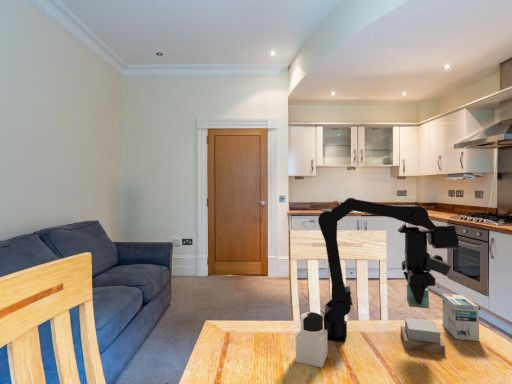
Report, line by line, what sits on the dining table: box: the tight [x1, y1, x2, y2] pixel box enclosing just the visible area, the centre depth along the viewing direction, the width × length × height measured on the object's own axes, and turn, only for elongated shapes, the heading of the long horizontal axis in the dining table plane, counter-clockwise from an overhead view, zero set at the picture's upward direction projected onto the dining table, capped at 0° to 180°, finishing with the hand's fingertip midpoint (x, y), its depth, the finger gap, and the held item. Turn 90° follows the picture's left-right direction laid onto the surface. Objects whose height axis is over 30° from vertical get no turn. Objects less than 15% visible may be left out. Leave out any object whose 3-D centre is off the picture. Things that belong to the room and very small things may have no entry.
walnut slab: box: [400, 325, 446, 355], centre depth 92 cm, size 10×10×3 cm
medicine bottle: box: [295, 311, 329, 368], centre depth 84 cm, size 7×7×12 cm
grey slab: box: [404, 317, 441, 343], centre depth 92 cm, size 8×8×3 cm
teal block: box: [406, 283, 430, 309], centre depth 91 cm, size 5×5×5 cm
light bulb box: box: [441, 293, 480, 342], centre depth 98 cm, size 11×7×11 cm, turn 168°
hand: (417, 300), depth 91 cm, fingers closed on teal block, 5 cm apart
